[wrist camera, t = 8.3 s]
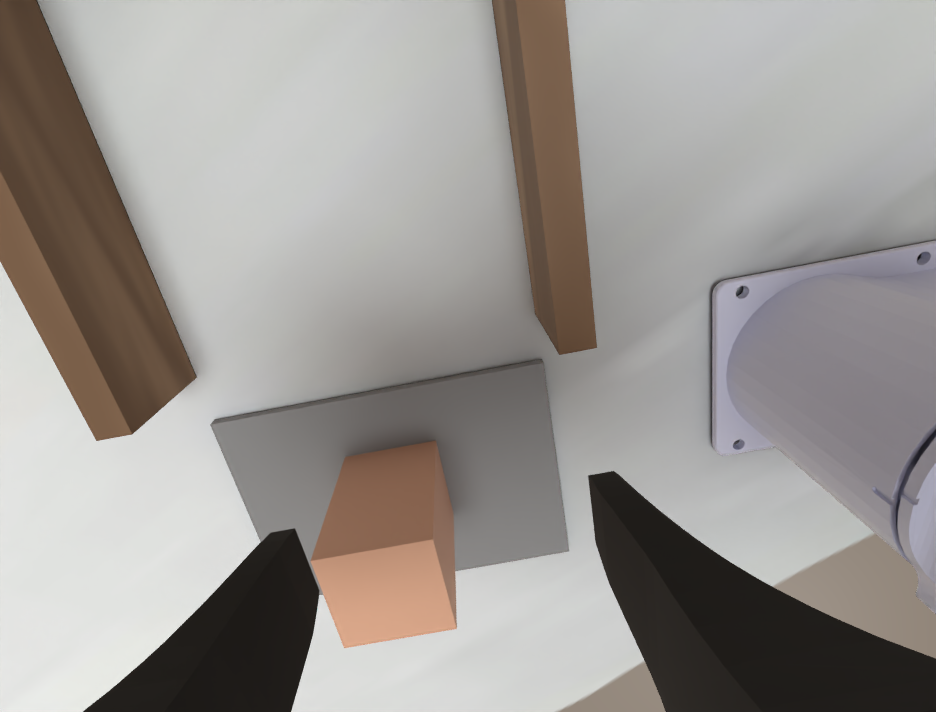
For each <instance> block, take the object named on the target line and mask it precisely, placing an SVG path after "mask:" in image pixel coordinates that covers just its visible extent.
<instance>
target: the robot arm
mask: <svg viewBox="0 0 936 712" xmlns="http://www.w3.org/2000/svg"><path fill="white" fill-rule="evenodd" d="M920 254H921V258H920V259H919V260H918V261H917V258H918V256H919V255H920ZM740 286H743V288H744V289H743V292H742V293H741V294H740V295H738V296H736V290H737V289H738V288H739V287H740ZM739 439H740V440H739ZM736 440H739V442H738V443H737V444H735V445H733V443H734V442H735V441H736ZM712 445H713V448H714V449H715V451H716V452H717V453H718V454H720V455H722V456H727V455H733V454H738V453H744V452H750V451H755V450H761V449H766V448H772V447H777V448H778V449H779V450H780V451H781V452H782V453H783V454H785V455H786V456H787V457H788V458H789V459H790V460H792V461H793V462H794V463H795V464H796V465H797V466H798V467H800V468H801V469H802V470H803V471H804V472H805V473H807V474H808V475H809V476H810V477H811V478H812V479H813V480H815V481H816V482H817V483H818V484H819V485H820V486H822V487H823V488H824V489H825V490H826V491H827V492H828V493H830V494H831V495H832V496H833V497H834V498H835V499H836V500H838V501H839V502H840V503H841V504H842V505H843V506H845V507H846V508H847V509H848V510H849V511H850V512H851V513H853V514H854V515H855V516H856V517H857V518H858V519H860V520H861V521H862V522H863V523H864V524H865V525H866V526H868V527H869V528H870V529H871V530H872V531H873V532H875V533H876V534H877V535H878V536H879V537H880V538H881V539H883V540H884V541H885V542H886V543H887V544H888V545H890V546H891V547H892V548H893V549H894V550H895V551H896V552H898V553H899V554H900V555H901V556H902V557H903V558H905V559H906V560H907V561H908V562H909V563H910V564H911V565H913V567H914V568H915V570H916V572H917V575H918V588H917V592H916V596H917V597H918V598H919V599H920V600H921V601H922V602H923V603H924V604H925V605H926V606H928V607H929V608H930V609H931V610H932V611H933V612H934V613H935V614H936V241H930V242H925V243H920V244H915V245H909V246H904V247H899V248H893V249H888V250H883V251H877V252H872V253H867V254H861V255H856V256H851V257H845V258H840V259H835V260H830V261H824V262H819V263H814V264H808V265H803V266H798V267H792V268H787V269H782V270H776V271H771V272H766V273H760V274H755V275H750V276H744V277H739V278H734V279H729V280H724V281H722V282H720V283H718V284H717V285H716V286H715V288H714V290H713V294H712ZM588 477H589V486H590V495H591V504H592V513H593V522H594V531H595V541H596V545H597V548H598V551H599V554H600V557H601V560H602V563H603V566H604V569H605V572H606V575H607V578H608V581H609V584H610V586H611V588H612V590H613V593H614V595H615V597H616V599H617V601H618V604H619V606H620V608H621V610H622V612H623V615H624V617H625V619H626V621H627V623H628V625H629V628H630V630H631V632H632V634H633V636H634V638H635V641H636V643H637V645H638V647H639V649H640V651H641V654H642V656H643V658H644V660H645V662H646V664H647V667H648V669H649V671H650V673H651V675H652V678H653V680H654V683H655V685H656V687H657V690H658V692H659V695H660V697H661V699H662V703H663V705H664V708H665V711H666V712H936V659H935V658H932V657H930V656H927V655H924V654H922V653H919V652H917V651H914V650H911V649H908V648H906V647H903V646H901V645H898V644H895V643H893V642H890V641H887V640H885V639H882V638H880V637H877V636H875V635H872V634H870V633H868V632H866V631H863V630H861V629H859V628H856V627H854V626H852V625H850V624H847V623H845V622H842V621H840V620H838V619H836V618H833V617H831V616H829V615H827V614H825V613H823V612H821V611H819V610H817V609H815V608H812V607H810V606H808V605H806V604H804V603H803V602H801V601H799V600H797V599H795V598H793V597H791V596H789V595H787V594H785V593H783V592H781V591H779V590H777V589H775V588H773V587H772V586H770V585H768V584H766V583H764V582H763V581H761V580H759V579H757V578H756V577H754V576H752V575H751V574H749V573H747V572H746V571H744V570H742V569H741V568H739V567H737V566H736V565H734V564H732V563H731V562H729V561H728V560H726V559H724V558H723V557H721V556H720V555H718V554H717V553H716V552H714V551H713V550H711V549H710V548H708V547H707V546H705V545H704V544H703V543H701V542H700V541H698V540H697V539H696V538H694V537H693V536H691V535H690V534H689V533H687V532H686V531H685V530H683V529H682V528H681V527H680V526H678V525H677V524H676V523H674V522H673V521H672V520H671V519H669V518H668V517H667V516H666V515H664V514H663V513H662V512H661V511H659V510H658V509H657V508H656V507H655V506H653V505H652V504H651V503H650V502H649V501H648V500H646V499H645V498H644V497H643V496H642V495H641V494H639V493H638V492H637V491H636V490H635V489H634V488H633V487H632V486H631V485H629V484H628V483H627V482H626V481H625V480H624V479H623V478H622V477H621V476H620V475H619V474H617V473H616V472H614V471H611V472H606V473H600V474H595V475H589V476H588ZM318 599H319V588H318V585H317V583H316V580H315V578H314V575H313V573H312V570H311V568H310V565H309V563H308V560H307V557H306V555H305V552H304V550H303V547H302V545H301V542H300V540H299V537H298V534H297V532H296V529H295V528H293V529H288V530H282V531H277V532H271V533H270V534H269V535H268V536H267V537H266V538H265V539H264V540H263V541H262V542H261V543H260V544H259V545H258V546H257V547H256V548H255V549H254V550H253V551H252V552H251V553H250V554H249V555H248V556H247V558H246V559H245V560H244V561H243V562H242V563H241V564H240V565H239V566H238V567H237V568H236V569H235V571H234V572H233V573H232V574H231V575H230V576H229V577H228V578H227V579H226V580H225V581H224V582H223V583H222V584H221V585H220V587H219V588H218V589H217V590H216V591H215V592H214V593H213V594H212V595H211V596H210V597H209V598H208V599H207V600H206V601H205V602H204V603H203V604H202V605H201V606H200V607H199V608H198V609H197V610H196V611H195V612H194V613H193V614H192V615H191V616H190V617H189V618H188V619H187V620H186V621H185V622H184V623H183V624H182V625H181V626H180V627H179V628H178V629H177V630H176V631H175V632H174V633H173V634H172V635H171V636H170V637H169V638H168V639H167V640H166V641H165V642H164V643H163V644H162V645H161V646H160V647H159V648H158V649H157V650H156V651H154V652H153V653H152V654H151V655H150V656H149V657H148V658H147V659H146V660H145V661H143V662H142V663H141V664H140V665H139V666H138V667H137V668H135V669H134V670H133V671H132V672H131V673H130V674H129V675H127V676H126V677H125V678H124V679H123V680H122V681H120V682H119V683H118V684H117V685H116V686H115V687H113V688H112V689H111V690H110V691H109V692H107V693H106V694H105V695H103V696H102V697H101V698H100V699H98V700H97V701H96V702H95V703H93V704H92V705H91V706H89V707H88V708H87V709H86V710H84V711H83V712H291V710H292V706H293V703H294V699H295V696H296V693H297V689H298V686H299V682H300V679H301V675H302V672H303V668H304V665H305V661H306V658H307V654H308V650H309V647H310V643H311V639H312V636H313V631H314V625H315V619H316V613H317V606H318Z"/></svg>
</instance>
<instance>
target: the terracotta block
mask: <svg viewBox="0 0 936 712" xmlns="http://www.w3.org/2000/svg"><path fill="white" fill-rule="evenodd" d="M311 564H312V566H313V569H314V572H315V574H316V577H317V579H318V582H319V584H320V587H321V590H322V592H323V595H324V597H325V600H326V602H327V605H328V608H329V610H330V613H331V615H332V618H333V620H334V623H335V625H336V628H337V631H338V633H339V636H340V638H341V641H342V643H343V646H344V648H348V647H354V646H359V645H365V644H371V643H377V642H383V641H388V640H394V639H400V638H406V637H412V636H417V635H423V634H429V633H435V632H441V631H446V630H452V629H457V623H456V585H455V547H454V514H453V510H452V505H451V501H450V497H449V493H448V489H447V485H446V480H445V476H444V472H443V468H442V464H441V460H440V455H439V451H438V447H437V443H436V441H430V442H425V443H419V444H414V445H408V446H403V447H397V448H392V449H387V450H381V451H376V452H370V453H365V454H359V455H354V456H348V457H345V459H344V462H343V465H342V468H341V471H340V474H339V477H338V480H337V483H336V486H335V489H334V492H333V495H332V498H331V501H330V504H329V507H328V510H327V513H326V516H325V519H324V522H323V525H322V528H321V531H320V534H319V537H318V540H317V543H316V546H315V549H314V552H313V555H312V558H311Z"/></svg>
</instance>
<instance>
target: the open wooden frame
mask: <svg viewBox="0 0 936 712" xmlns="http://www.w3.org/2000/svg"><path fill="white" fill-rule="evenodd" d="M492 4H493V11H494V19H495V26H496V33H497V40H498V48H499V55H500V62H501V69H502V77H503V84H504V91H505V98H506V106H507V113H508V120H509V127H510V134H511V142H512V149H513V156H514V163H515V171H516V178H517V185H518V192H519V200H520V207H521V214H522V221H523V229H524V236H525V243H526V250H527V258H528V265H529V272H530V279H531V287H532V294H533V301H534V308H535V314H536V316H537V318H538V319H539V321H540V323H541V324H542V326H543V328H544V330H545V331H546V333H547V335H548V336H549V338H550V340H551V341H552V343H553V345H554V347H555V348H556V350H557V352H558V353H559V355H561V354H567V353H572V352H577V351H583V350H588V349H594V348H597V344H596V333H595V322H594V311H593V300H592V289H591V278H590V268H589V257H588V246H587V235H586V224H585V213H584V203H583V192H582V181H581V170H580V159H579V148H578V137H577V127H576V116H575V105H574V94H573V83H572V72H571V61H570V51H569V40H568V29H567V18H566V7H565V0H492ZM0 262H1V263H2V265H3V267H4V269H5V271H6V273H7V275H8V277H9V278H10V280H11V282H12V284H13V286H14V288H15V290H16V291H17V293H18V295H19V297H20V299H21V301H22V303H23V305H24V306H25V308H26V310H27V312H28V314H29V316H30V318H31V320H32V321H33V323H34V325H35V327H36V329H37V331H38V333H39V334H40V336H41V338H42V340H43V342H44V344H45V346H46V348H47V349H48V351H49V353H50V355H51V357H52V359H53V361H54V362H55V364H56V366H57V368H58V370H59V372H60V374H61V376H62V377H63V379H64V381H65V383H66V385H67V387H68V389H69V390H70V392H71V394H72V396H73V398H74V400H75V402H76V404H77V405H78V407H79V409H80V411H81V413H82V415H83V417H84V418H85V420H86V422H87V424H88V426H89V428H90V430H91V432H92V433H93V435H94V437H95V439H96V441H99V440H104V439H109V438H115V437H120V436H126V435H131V434H133V433H134V432H135V431H136V430H138V429H139V428H140V427H141V426H142V425H143V424H144V423H146V422H147V421H148V420H149V419H150V418H151V417H152V416H154V415H155V414H156V413H157V412H158V411H159V410H160V409H161V408H163V407H164V406H165V405H166V404H167V403H168V402H169V401H171V400H172V399H173V398H174V397H175V396H176V395H177V394H178V393H180V392H181V391H182V390H183V389H184V388H185V387H186V386H188V385H189V384H190V383H191V382H192V381H193V380H194V379H195V378H196V375H195V373H194V371H193V368H192V366H191V364H190V361H189V359H188V357H187V354H186V352H185V349H184V347H183V345H182V342H181V340H180V338H179V335H178V333H177V331H176V328H175V326H174V324H173V321H172V319H171V317H170V314H169V312H168V309H167V307H166V305H165V302H164V300H163V298H162V295H161V293H160V291H159V288H158V286H157V284H156V281H155V279H154V277H153V274H152V272H151V269H150V267H149V265H148V262H147V260H146V258H145V255H144V253H143V251H142V248H141V246H140V244H139V241H138V239H137V237H136V234H135V232H134V229H133V227H132V225H131V222H130V220H129V218H128V215H127V213H126V211H125V208H124V206H123V204H122V201H121V199H120V197H119V194H118V192H117V189H116V187H115V185H114V182H113V180H112V178H111V175H110V173H109V171H108V168H107V166H106V164H105V161H104V159H103V157H102V154H101V152H100V149H99V147H98V145H97V142H96V140H95V138H94V135H93V133H92V131H91V128H90V126H89V124H88V121H87V119H86V117H85V114H84V112H83V109H82V107H81V105H80V102H79V100H78V98H77V95H76V93H75V91H74V88H73V86H72V84H71V81H70V79H69V77H68V74H67V72H66V69H65V67H64V65H63V62H62V60H61V58H60V55H59V53H58V51H57V48H56V46H55V44H54V41H53V39H52V37H51V34H50V32H49V29H48V27H47V25H46V22H45V20H44V18H43V15H42V13H41V11H40V8H39V6H38V4H37V1H36V0H0Z"/></svg>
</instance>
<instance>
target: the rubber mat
mask: <svg viewBox="0 0 936 712" xmlns="http://www.w3.org/2000/svg"><path fill="white" fill-rule="evenodd" d="M211 427H212V430H213V432H214V434H215V437H216V439H217V441H218V444H219V446H220V448H221V451H222V453H223V455H224V458H225V460H226V462H227V465H228V467H229V469H230V472H231V474H232V476H233V478H234V481H235V483H236V485H237V488H238V490H239V492H240V495H241V497H242V499H243V502H244V504H245V506H246V509H247V511H248V513H249V516H250V518H251V520H252V523H253V525H254V527H255V530H256V532H257V534H258V537H259V539H260V541H261V542H262V541H263V540H264V539H265V538H266V537H267V536H268V535H269V534H270V533H271V532H277V531H282V530H288V529H293V528H295V529H296V532H297V534H298V537H299V540H300V542H301V545H302V547H303V550H304V552H305V555H306V557H307V560H308V563H309V565H310V568H311V570H312V573H313V575H314V578H315V580H316V583H317V585H318V588H319V595H323V592H322V590H321V587H320V584H319V582H318V579H317V577H316V574H315V572H314V569H313V566H312V564H311V558H312V555H313V552H314V549H315V546H316V543H317V540H318V537H319V534H320V531H321V528H322V525H323V522H324V519H325V516H326V513H327V510H328V507H329V504H330V501H331V498H332V495H333V492H334V489H335V486H336V483H337V480H338V477H339V474H340V471H341V468H342V465H343V462H344V459H345V457H348V456H354V455H359V454H365V453H370V452H376V451H381V450H387V449H392V448H397V447H403V446H408V445H414V444H419V443H425V442H430V441H436V443H437V447H438V451H439V455H440V460H441V464H442V468H443V472H444V476H445V480H446V485H447V489H448V493H449V497H450V501H451V505H452V510H453V514H454V547H455V571H459V570H465V569H471V568H476V567H482V566H488V565H494V564H499V563H505V562H511V561H516V560H522V559H528V558H533V557H539V556H545V555H551V554H556V553H562V552H568V551H569V547H568V540H567V532H566V525H565V518H564V510H563V503H562V496H561V488H560V481H559V474H558V467H557V459H556V452H555V445H554V437H553V430H552V423H551V415H550V408H549V401H548V394H547V386H546V379H545V372H544V364H543V361H542V359H540V360H535V361H530V362H524V363H519V364H513V365H508V366H503V367H497V368H492V369H487V370H481V371H476V372H470V373H465V374H460V375H454V376H449V377H444V378H438V379H433V380H427V381H422V382H417V383H411V384H406V385H400V386H395V387H390V388H384V389H379V390H374V391H368V392H363V393H357V394H352V395H347V396H341V397H336V398H331V399H325V400H320V401H314V402H309V403H304V404H298V405H293V406H287V407H282V408H277V409H271V410H266V411H261V412H255V413H250V414H244V415H239V416H234V417H228V418H223V419H218V420H214V421H213V422H212V423H211Z"/></svg>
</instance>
